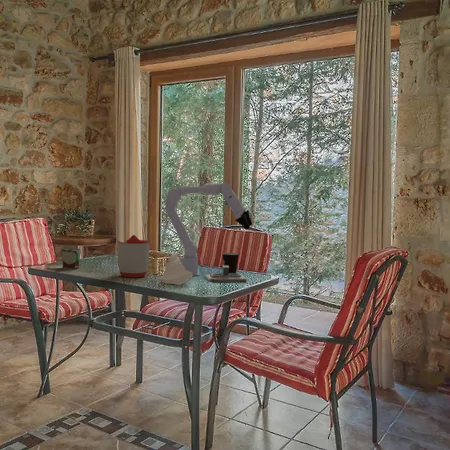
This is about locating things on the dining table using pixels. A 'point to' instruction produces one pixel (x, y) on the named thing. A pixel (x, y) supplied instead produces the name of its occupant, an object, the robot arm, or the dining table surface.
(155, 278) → the dining table surface
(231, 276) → the grey flat slab
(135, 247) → the citrus juicer
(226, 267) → the breaker lever
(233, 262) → the coffee mug
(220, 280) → the grey square tray
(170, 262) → the beige faceted rock
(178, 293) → the dining table surface
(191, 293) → the dining table surface
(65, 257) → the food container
